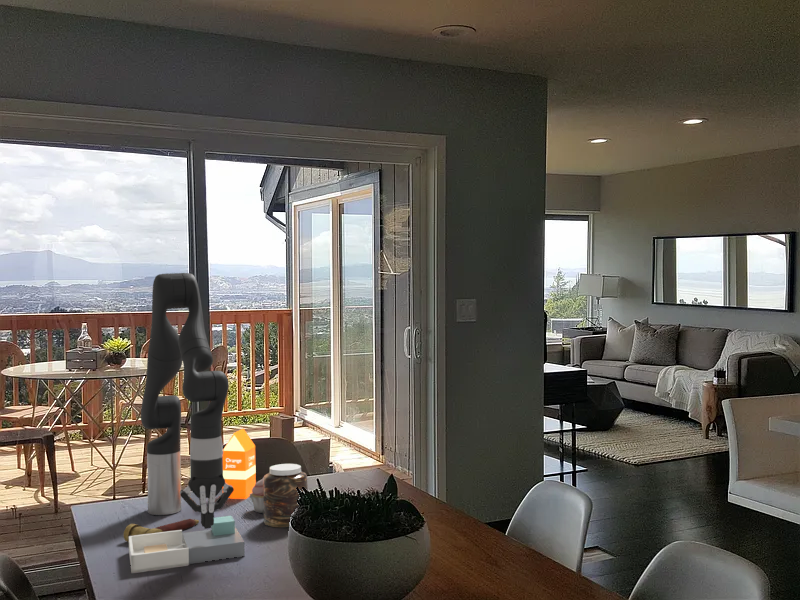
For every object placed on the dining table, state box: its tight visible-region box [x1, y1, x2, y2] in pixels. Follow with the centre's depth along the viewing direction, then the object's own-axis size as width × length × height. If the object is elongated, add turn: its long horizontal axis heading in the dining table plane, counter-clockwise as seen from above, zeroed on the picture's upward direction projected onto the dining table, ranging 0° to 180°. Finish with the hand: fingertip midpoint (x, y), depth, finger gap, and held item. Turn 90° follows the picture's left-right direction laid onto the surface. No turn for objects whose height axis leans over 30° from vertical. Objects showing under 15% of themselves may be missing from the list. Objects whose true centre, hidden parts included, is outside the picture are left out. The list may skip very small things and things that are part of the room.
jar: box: [263, 463, 309, 528], centre depth 210 cm, size 12×12×15 cm
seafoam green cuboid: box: [210, 515, 236, 536], centre depth 191 cm, size 5×5×3 cm
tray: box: [128, 530, 190, 574], centre depth 182 cm, size 15×12×4 cm
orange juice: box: [221, 428, 257, 500], centre depth 238 cm, size 8×9×20 cm
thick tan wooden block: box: [144, 544, 168, 553], centre depth 178 cm, size 5×5×3 cm
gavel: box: [123, 518, 200, 543], centre depth 200 cm, size 21×5×10 cm
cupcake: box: [249, 476, 264, 514], centre depth 221 cm, size 9×9×10 cm
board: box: [182, 526, 246, 565], centre depth 186 cm, size 13×13×4 cm
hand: (207, 527), depth 183 cm, fingers closed
